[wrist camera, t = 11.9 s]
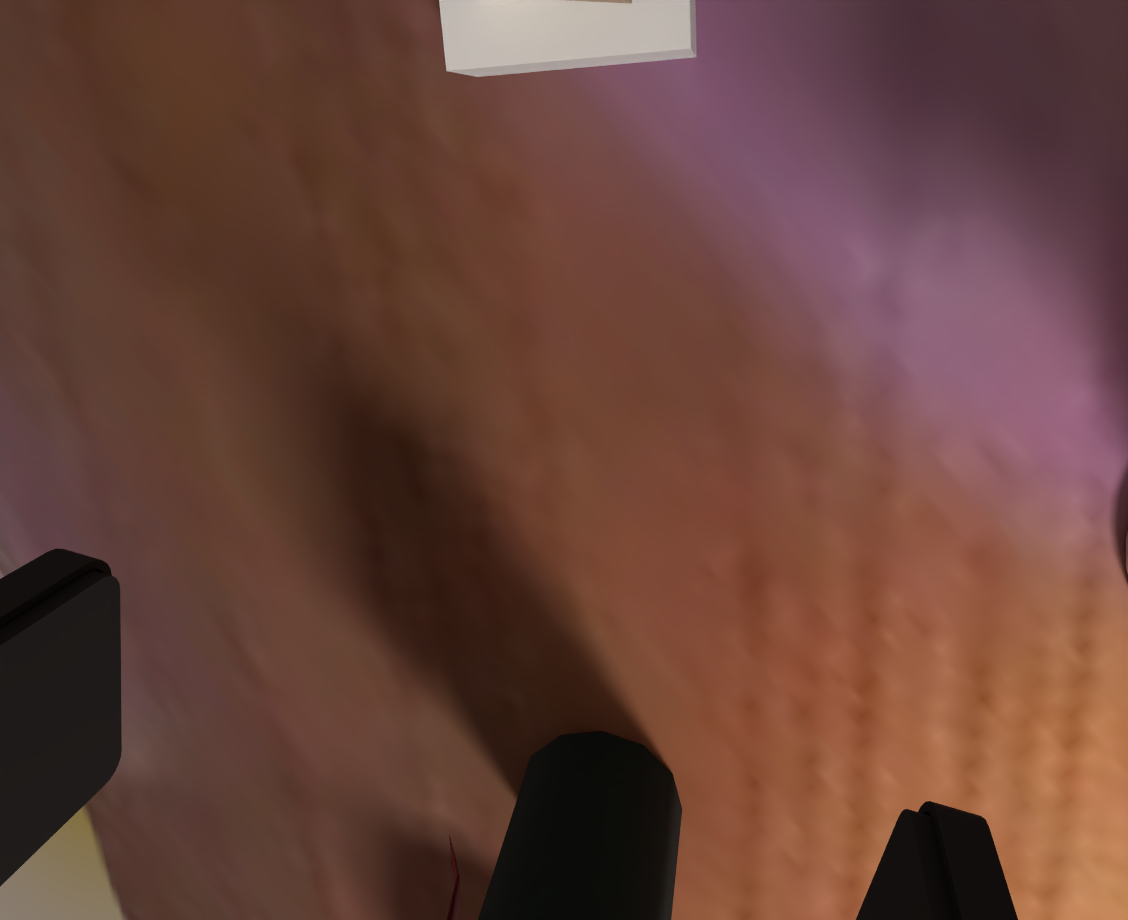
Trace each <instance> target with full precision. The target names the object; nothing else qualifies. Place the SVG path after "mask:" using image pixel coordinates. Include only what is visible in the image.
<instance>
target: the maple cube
mask: <svg viewBox="0 0 1128 920" xmlns="http://www.w3.org/2000/svg"><path fill="white" fill-rule="evenodd" d="M570 1H590V2H609V3H629V4H632V0H570Z"/></svg>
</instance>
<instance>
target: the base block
mask: <svg viewBox="0 0 1128 920" xmlns="http://www.w3.org/2000/svg"><path fill="white" fill-rule="evenodd" d="M439 4H440V13H441V23H442V32H443V42H444V51H445V61H446V71H449V72H455V73H460V74H465V75H470V76H476V77H481V76H492V75H503V74H514V73H525V72H536V71H548V70H559V69H570V68H581V67H592V66H603V65H614V64H626V63H637V62H648V61H659V60H670V59H681V58H692V57H696V6H695V0H632V4H629V3H609V2H590V1H570V0H439Z"/></svg>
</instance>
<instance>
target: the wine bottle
mask: <svg viewBox="0 0 1128 920" xmlns="http://www.w3.org/2000/svg"><path fill="white" fill-rule="evenodd" d="M681 815H682V807H681V803H680V800H679V796H678V792H677V789H676V785H675V781H674V777H673V774H672V773H671V772H670V771H669V770H668V769H667V768H666V767H665V766H664V765H663V764H662V763H661V762H660V761H659V760H658V759H656V758H655V757H654V756H653V755H652V754H651V753H650V752H649V751H648V750H647V749H646V748H645V747H644V746H643V745H641V744H638V743H635V742H632V741H629V740H626V739H623V738H620V737H617V736H614V735H611V734H608V733H606V732H603V731H597V732H588V733H579V734H570V735H560V736H559V737H557V738H556V739H555V740H553V741H552V742H551V743H549V744H548V745H546V746H545V747H544V748H542V749H541V750H540V751H538V752H537V753H536V754H534V755H533V756H531V758H530V762H529V765H528V768H527V771H526V774H525V777H524V780H523V783H522V786H521V789H520V792H519V795H518V799H517V802H516V805H515V808H514V811H513V814H512V817H511V820H510V823H509V826H508V829H507V832H506V836H505V839H504V842H503V845H502V848H501V851H500V854H499V857H498V860H497V863H496V866H495V869H494V873H493V876H492V879H491V882H490V885H489V888H488V891H487V894H486V897H485V900H484V903H483V906H482V910H481V913H480V916H479V919H478V920H671V915H672V905H673V895H674V885H675V875H676V865H677V855H678V845H679V835H680V825H681ZM449 838H450V835H449ZM450 848H451V857H452V861H451V866H452V871H453V876H454V882H455V887H454V891H453V896H452V900H451V904H450V909H449V913H448V917H447V920H458V919H459V914H460V909H461V903H460V885H459V873H458V869H457V863H456V859H455V855H454V851H453V847H452V843H451V839H450Z"/></svg>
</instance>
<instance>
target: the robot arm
mask: <svg viewBox="0 0 1128 920" xmlns="http://www.w3.org/2000/svg"><path fill="white" fill-rule="evenodd" d="M1126 569H1127V573H1128V532H1127V536H1126ZM121 750H122V749H121V636H120V585H119V582H118V580H117V578H115V577H113V576H112V575H111V569H110V567H109V566H108V564H107V563H106V562H104V561H102V560H99V559H96V558H93V557H89V556H86V555H82V554H79V553H75V552H72V551H68V550H65V549H54V550H51V551H49V552H47V553H45V554H43V555H41V556H40V557H38V558H36V559H34V560H33V561H31V562H29V563H27V564H26V565H24V566H22V567H20V568H19V569H17V570H15V571H13V572H12V573H10V574H8V575H6V576H5V577H3V578H1V579H0V886H1V885H2V884H3V883H4V882H5V881H6V880H7V879H8V878H9V877H10V876H11V875H13V874H14V873H15V871H17V870H18V869H19V868H20V867H21V866H22V865H23V864H24V863H25V862H26V861H27V860H28V859H29V858H30V857H31V856H32V855H33V854H34V853H35V852H36V851H37V850H38V849H39V848H40V847H41V846H42V845H43V844H44V843H45V842H47V840H49V838H50V837H52V836H53V834H55V833H56V832H57V831H58V830H59V829H60V828H61V827H62V826H63V825H64V824H65V823H66V822H67V821H68V820H69V819H70V818H71V817H72V816H73V815H74V814H75V813H76V812H77V811H78V810H79V809H81V808H82V807H83V806H84V805H85V804H86V803H87V802H88V801H89V800H90V799H91V798H92V797H93V796H94V795H95V794H96V793H97V792H98V791H99V790H100V789H101V788H102V787H103V786H104V785H105V784H106V783H107V782H108V781H109V780H110V778H111V777H112V775H113V774H114V772H115V770H116V768H117V766H118V764H119V761H120V757H121ZM856 920H1018V918H1017V915H1016V912H1015V909H1014V905H1013V902H1012V899H1011V896H1010V893H1009V889H1008V886H1007V883H1006V880H1005V877H1004V873H1003V870H1002V867H1001V864H1000V861H999V857H998V854H997V851H996V848H995V845H994V841H993V838H992V835H991V832H990V829H989V826H988V824H987V822H986V820H985V819H984V818H983V817H981V816H979V815H975V814H972V813H968V812H965V811H962V810H958V809H955V808H951V807H948V806H944V805H941V804H938V803H934V802H931V801H928V802H925V803H924V804H923V805H922V806H921V807H920V809H919V811H918V812H915V811H912V810H908V809H905V810H903V811H902V812H901V814H900V816H899V818H898V820H897V822H896V825H895V827H894V829H893V832H892V834H891V837H890V839H889V841H888V844H887V846H886V849H885V851H884V853H883V856H882V858H881V861H880V863H879V865H878V868H877V870H876V873H875V875H874V877H873V880H872V882H871V885H870V887H869V889H868V892H867V894H866V897H865V899H864V901H863V904H862V906H861V909H860V911H859V913H858V916H857V918H856Z"/></svg>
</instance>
